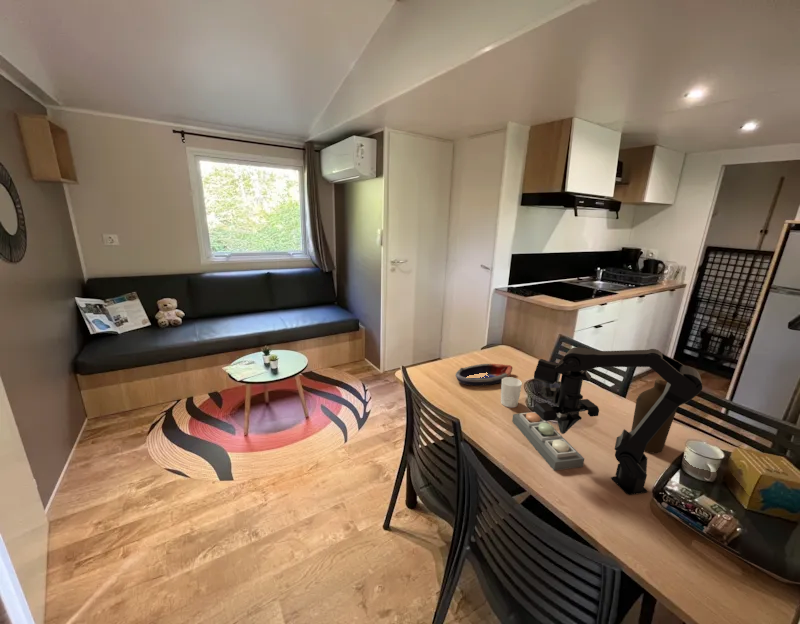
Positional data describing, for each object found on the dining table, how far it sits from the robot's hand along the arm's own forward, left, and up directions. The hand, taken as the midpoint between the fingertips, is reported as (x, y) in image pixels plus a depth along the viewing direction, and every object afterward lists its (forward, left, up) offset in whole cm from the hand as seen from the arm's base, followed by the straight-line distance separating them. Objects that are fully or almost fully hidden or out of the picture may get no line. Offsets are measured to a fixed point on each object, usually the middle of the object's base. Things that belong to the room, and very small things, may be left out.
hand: (562, 433), depth 107 cm
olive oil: (+1, -34, -9) cm, 35 cm away
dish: (+55, +1, -10) cm, 56 cm away
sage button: (+8, 0, -5) cm, 9 cm away
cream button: (0, 0, -6) cm, 6 cm away
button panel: (+8, 0, -9) cm, 12 cm away
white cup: (+33, 0, -9) cm, 34 cm away
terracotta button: (+16, 0, -6) cm, 17 cm away
